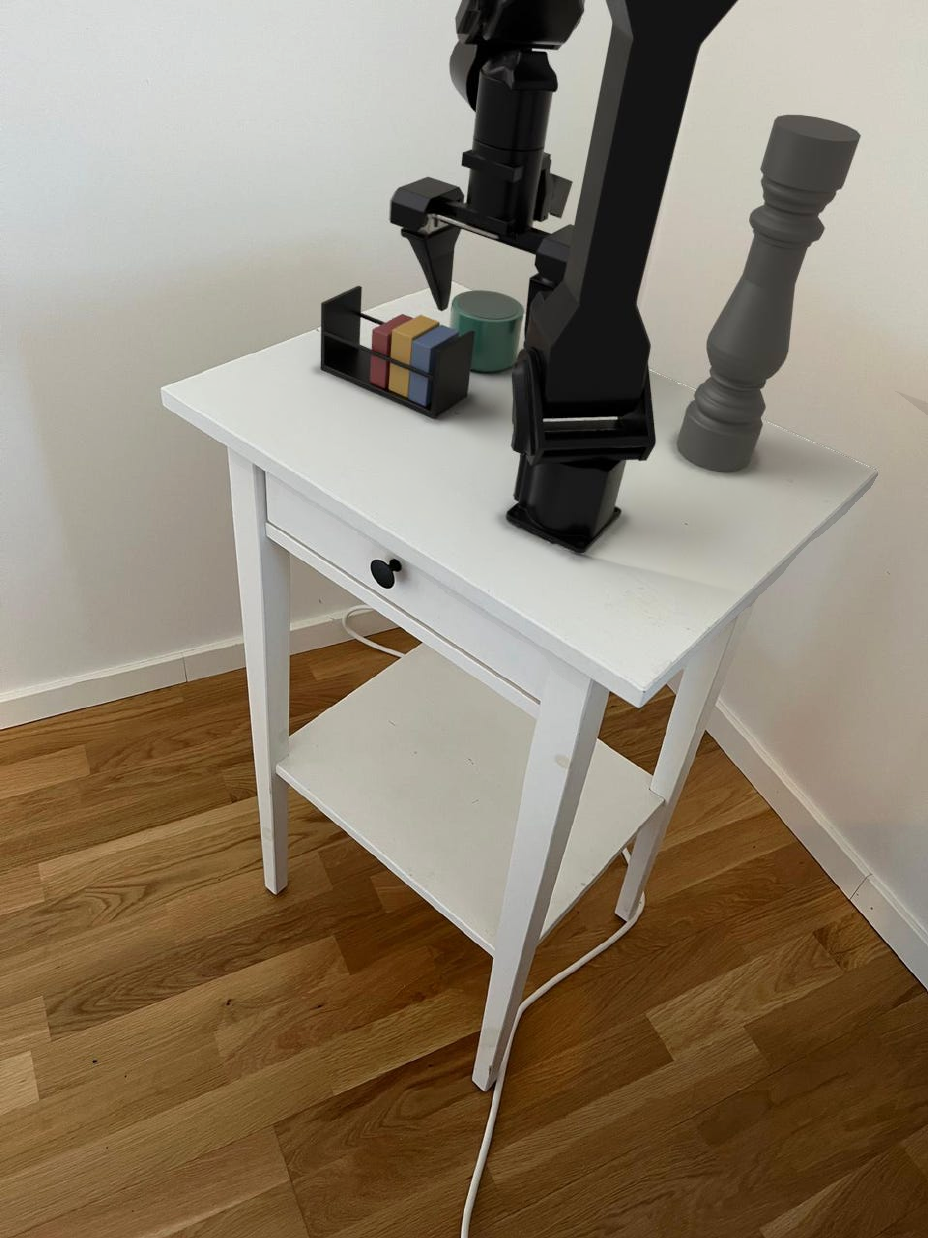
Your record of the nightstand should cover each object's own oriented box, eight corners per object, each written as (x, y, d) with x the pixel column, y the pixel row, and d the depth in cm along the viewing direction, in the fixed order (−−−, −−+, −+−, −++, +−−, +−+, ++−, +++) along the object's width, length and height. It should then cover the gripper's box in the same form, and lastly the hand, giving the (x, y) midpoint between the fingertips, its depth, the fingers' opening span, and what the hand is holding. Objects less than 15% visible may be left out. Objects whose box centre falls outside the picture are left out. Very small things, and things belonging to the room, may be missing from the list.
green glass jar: (529, 357, 90) (537, 305, 87) (492, 382, 86) (499, 328, 83) (471, 334, 93) (477, 283, 89) (432, 357, 88) (437, 304, 85)
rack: (467, 396, 84) (475, 330, 80) (433, 419, 80) (440, 351, 76) (356, 349, 88) (358, 284, 84) (319, 369, 85) (320, 302, 81)
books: (453, 388, 84) (460, 329, 80) (425, 406, 81) (431, 345, 77) (398, 365, 86) (402, 306, 82) (369, 382, 83) (372, 322, 79)
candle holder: (673, 461, 79) (770, 130, 63) (679, 425, 84) (771, 107, 67) (749, 478, 79) (867, 148, 62) (751, 440, 83) (862, 124, 67)
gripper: (658, 150, 79) (617, 331, 89) (466, 94, 86) (449, 269, 96) (595, 180, 72) (559, 374, 82) (390, 116, 78) (380, 303, 89)
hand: (485, 325), depth 87 cm, fingers open, 9 cm apart
